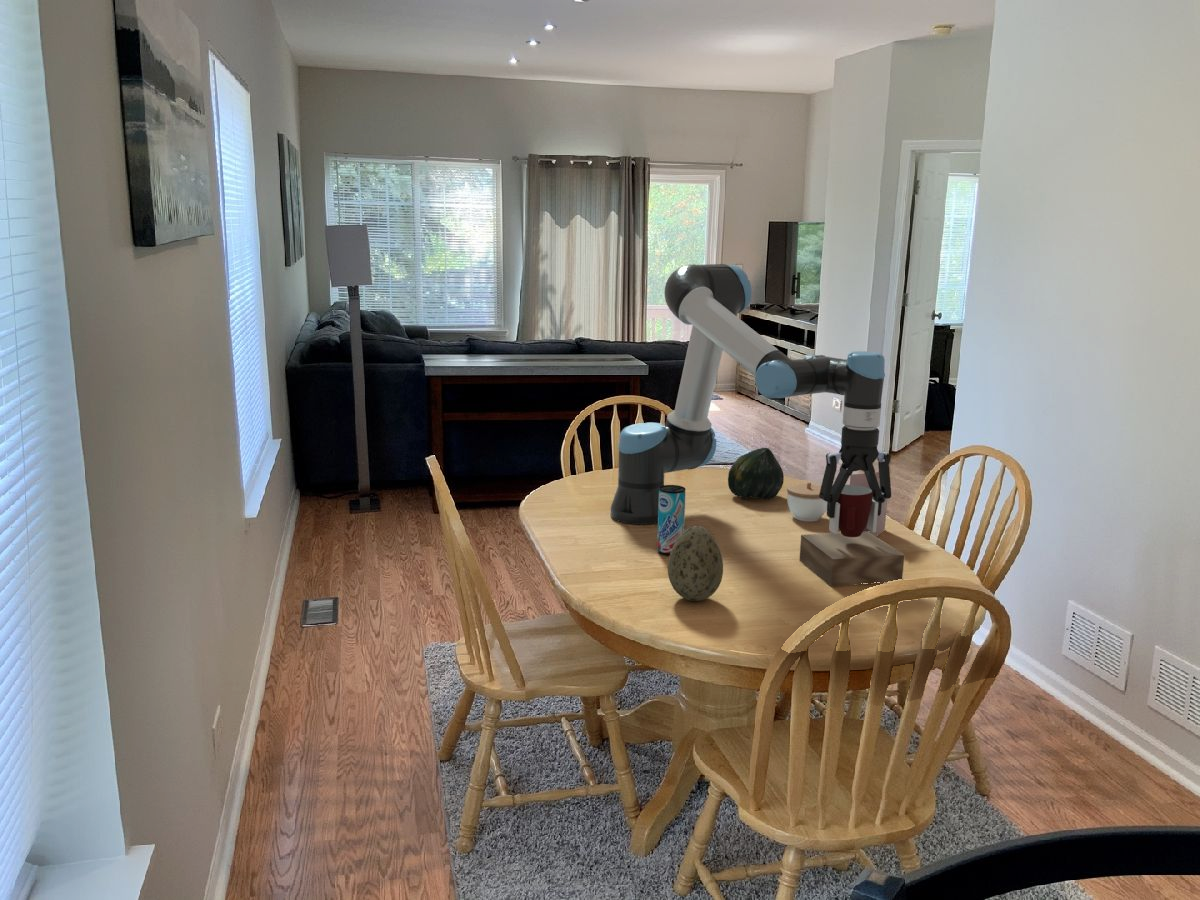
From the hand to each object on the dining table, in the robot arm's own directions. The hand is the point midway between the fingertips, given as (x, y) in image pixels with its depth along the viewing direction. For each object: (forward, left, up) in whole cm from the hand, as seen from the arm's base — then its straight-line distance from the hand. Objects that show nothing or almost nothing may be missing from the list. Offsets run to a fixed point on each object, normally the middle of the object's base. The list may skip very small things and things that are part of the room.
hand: (852, 530), depth 199 cm
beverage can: (-35, +18, -9) cm, 40 cm away
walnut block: (0, 0, -9) cm, 9 cm away
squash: (+1, +59, -9) cm, 60 cm away
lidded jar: (+7, +38, -9) cm, 40 cm away
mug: (0, 0, -1) cm, 1 cm away
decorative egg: (-38, -10, -9) cm, 40 cm away
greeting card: (+17, +22, -9) cm, 29 cm away
